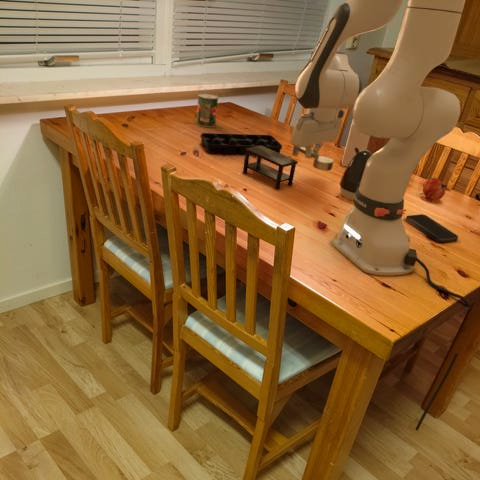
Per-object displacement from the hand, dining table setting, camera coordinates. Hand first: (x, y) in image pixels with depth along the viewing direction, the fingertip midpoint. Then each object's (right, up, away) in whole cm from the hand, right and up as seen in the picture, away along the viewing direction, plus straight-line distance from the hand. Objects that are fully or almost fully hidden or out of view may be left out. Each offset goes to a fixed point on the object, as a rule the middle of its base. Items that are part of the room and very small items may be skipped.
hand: (311, 157), depth 153 cm
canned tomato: (-37, +28, +45) cm, 65 cm away
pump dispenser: (+13, -13, +1) cm, 19 cm away
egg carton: (-22, +11, +25) cm, 35 cm away
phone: (+33, -25, -11) cm, 43 cm away
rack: (-14, -6, +4) cm, 16 cm away
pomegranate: (+41, -11, +9) cm, 44 cm away
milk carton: (+19, +6, +27) cm, 34 cm away
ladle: (0, -1, +1) cm, 2 cm away
